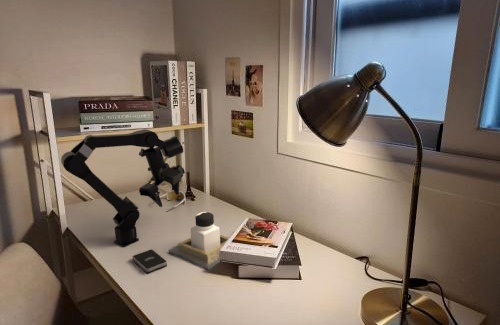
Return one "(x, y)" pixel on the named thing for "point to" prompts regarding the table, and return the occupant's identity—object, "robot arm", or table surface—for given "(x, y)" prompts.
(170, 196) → the sunglasses
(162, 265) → the external hard drive
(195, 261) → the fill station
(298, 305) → the table surface
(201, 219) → the medicine bottle
